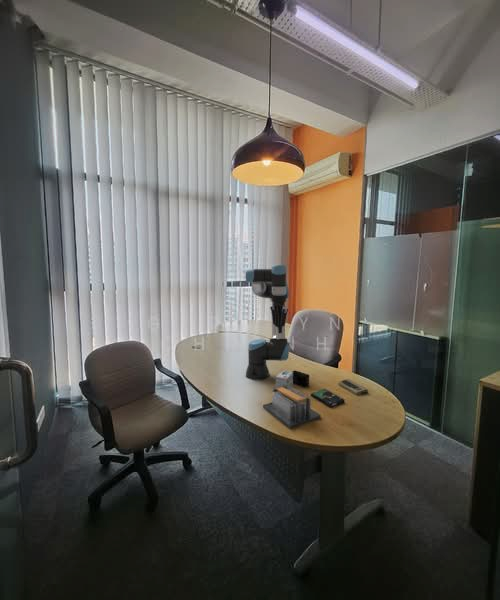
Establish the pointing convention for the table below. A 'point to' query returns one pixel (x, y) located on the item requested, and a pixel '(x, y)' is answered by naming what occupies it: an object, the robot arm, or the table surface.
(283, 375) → the light bulb box
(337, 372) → the table surface
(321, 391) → the disk drive
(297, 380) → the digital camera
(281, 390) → the latch bar
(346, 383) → the computer
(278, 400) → the heatsink base
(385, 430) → the table surface
